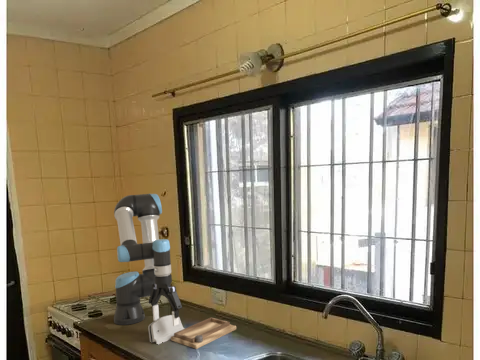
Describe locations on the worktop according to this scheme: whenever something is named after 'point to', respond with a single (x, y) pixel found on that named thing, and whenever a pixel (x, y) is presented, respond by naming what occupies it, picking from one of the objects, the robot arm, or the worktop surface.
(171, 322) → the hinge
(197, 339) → the wooden tray
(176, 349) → the worktop surface
